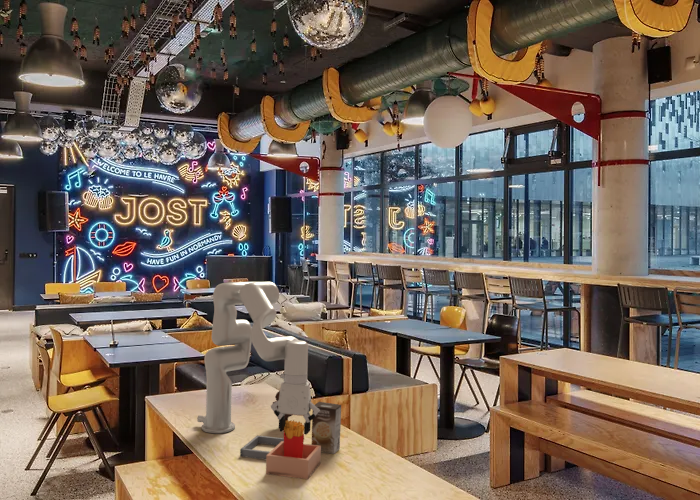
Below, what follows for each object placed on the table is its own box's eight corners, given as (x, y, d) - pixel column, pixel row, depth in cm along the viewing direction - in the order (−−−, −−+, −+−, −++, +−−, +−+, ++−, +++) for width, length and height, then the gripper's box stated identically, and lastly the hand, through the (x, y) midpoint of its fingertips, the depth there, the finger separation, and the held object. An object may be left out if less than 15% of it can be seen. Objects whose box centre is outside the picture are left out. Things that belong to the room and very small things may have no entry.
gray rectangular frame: (240, 456, 215) (240, 449, 215) (257, 442, 230) (257, 435, 230) (273, 460, 212) (273, 453, 212) (288, 445, 227) (288, 438, 227)
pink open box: (265, 473, 201) (266, 455, 200) (281, 458, 214) (281, 441, 214) (307, 479, 197) (308, 460, 197) (320, 463, 211) (320, 445, 211)
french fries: (280, 458, 208) (280, 420, 207) (290, 455, 211) (291, 417, 210) (296, 467, 201) (297, 427, 200) (307, 464, 204) (308, 424, 203)
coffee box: (310, 450, 222) (311, 405, 222) (317, 444, 228) (318, 401, 228) (334, 454, 219) (335, 409, 219) (340, 448, 225) (341, 404, 225)
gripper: (266, 379, 203) (265, 432, 204) (317, 383, 199) (316, 438, 200) (274, 373, 210) (273, 425, 211) (324, 378, 206) (323, 431, 207)
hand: (294, 431), depth 205 cm, fingers closed on french fries, 7 cm apart
